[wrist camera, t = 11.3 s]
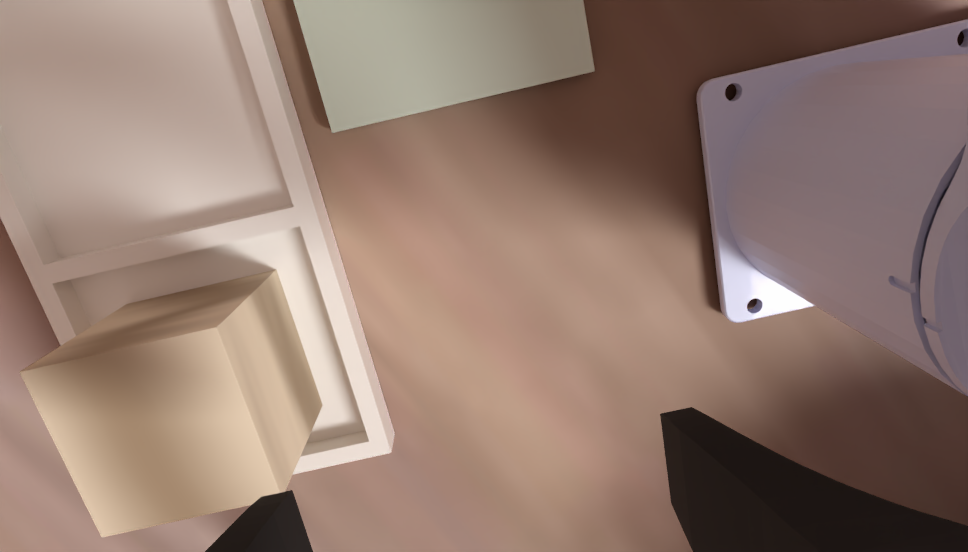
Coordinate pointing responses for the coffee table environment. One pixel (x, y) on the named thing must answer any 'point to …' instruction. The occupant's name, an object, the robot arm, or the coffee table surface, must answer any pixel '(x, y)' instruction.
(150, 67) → the sorting tray
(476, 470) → the coffee table surface
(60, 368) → the plain cube
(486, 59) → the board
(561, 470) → the coffee table surface
